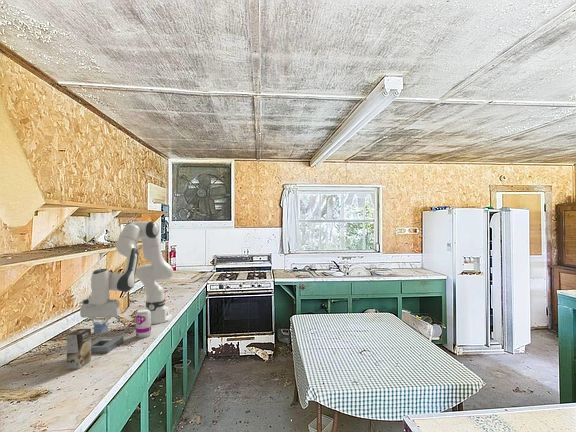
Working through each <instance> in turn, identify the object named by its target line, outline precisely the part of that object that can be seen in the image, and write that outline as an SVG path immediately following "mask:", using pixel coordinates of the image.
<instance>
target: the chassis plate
mask: <svg viewBox="0 0 576 432" xmlns="http://www.w3.org/2000/svg"><path fill="white" fill-rule="evenodd" d="M124 341H125V339H124V336H99V337H97V338H95V339H93V340H91V354H109V353H110V352H112V351H113V350H114V349H116V348H117V347H119V346H120V345H121V344H123V343H124Z"/></svg>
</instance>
